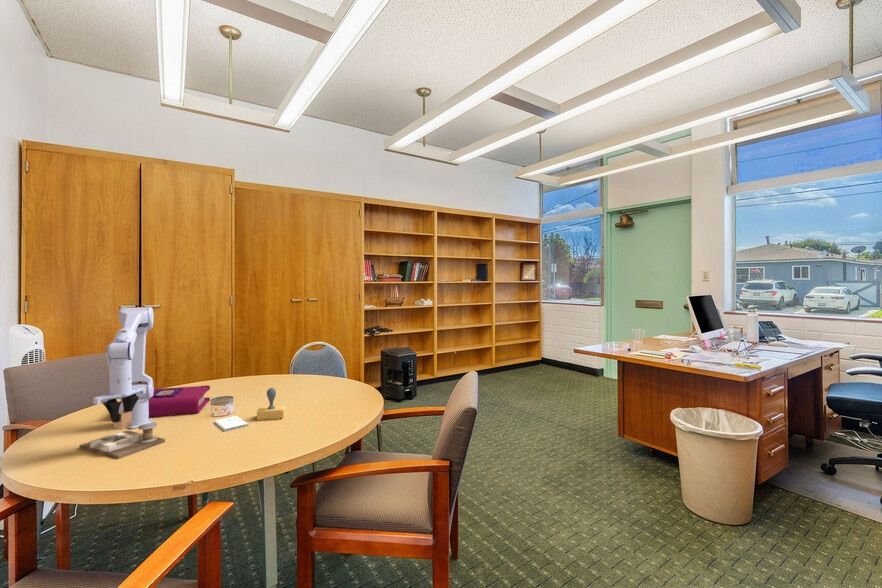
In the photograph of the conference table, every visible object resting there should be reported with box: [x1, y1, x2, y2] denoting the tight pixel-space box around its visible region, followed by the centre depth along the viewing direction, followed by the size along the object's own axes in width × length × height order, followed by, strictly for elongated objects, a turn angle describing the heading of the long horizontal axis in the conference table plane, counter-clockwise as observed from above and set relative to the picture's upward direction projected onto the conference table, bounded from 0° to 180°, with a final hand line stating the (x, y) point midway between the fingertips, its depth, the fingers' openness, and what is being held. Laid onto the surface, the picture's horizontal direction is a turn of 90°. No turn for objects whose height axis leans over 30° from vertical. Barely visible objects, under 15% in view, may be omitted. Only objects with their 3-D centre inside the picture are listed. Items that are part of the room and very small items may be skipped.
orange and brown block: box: [113, 410, 132, 431], centre depth 131 cm, size 4×3×5 cm
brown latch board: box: [78, 422, 166, 459], centre depth 132 cm, size 20×14×6 cm
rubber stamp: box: [256, 387, 287, 421], centre depth 161 cm, size 10×6×12 cm, turn 103°
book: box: [119, 384, 211, 418], centre depth 169 cm, size 21×28×8 cm
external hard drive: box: [214, 415, 249, 432], centre depth 152 cm, size 2×8×12 cm
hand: (121, 420), depth 132 cm, fingers closed on orange and brown block, 3 cm apart
